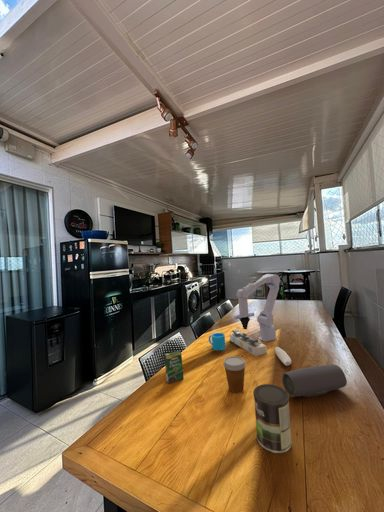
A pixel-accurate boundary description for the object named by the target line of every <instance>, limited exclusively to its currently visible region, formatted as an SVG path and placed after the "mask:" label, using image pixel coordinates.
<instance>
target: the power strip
mask: <svg viewBox="0 0 384 512" xmlns="http://www.w3.org/2000/svg"><path fill="white" fill-rule="evenodd" d="M242 333H243V332H241V334H242ZM249 339H253V338H252V337H250V336H249ZM249 339H247V340H244V339H243V338H242V337H241V336H240V335H238V336H237V335H235V334H234V333H233V332H232V333H229V341H230V340H231V341H230V342H232V343H233V342H234V343H233V344H234V345H237V346H239V347H240V348H242V349H244V350H245V351H246V352H248V353H250V355H253V356H255V357H257V356H262V355H265V354H267V353H268V352H267V345H266V344H263V343H262V342H261V341H259V342H257V343H250V342H248V340H249Z"/></svg>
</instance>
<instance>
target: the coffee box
mask: <svg viewBox="0 0 384 512" xmlns="http://www.w3.org/2000/svg"><path fill="white" fill-rule="evenodd" d="M164 366H165V379H166V382H167V384H168V385H169V384H171V383H175V382H178V381H181V380H184V369H183V357H182V351H181V350H175V351H172V352H169V353H164Z"/></svg>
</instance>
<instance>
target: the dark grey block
mask: <svg viewBox="0 0 384 512" xmlns="http://www.w3.org/2000/svg"><path fill="white" fill-rule="evenodd" d="M232 333H234V334H235V335H237V336H238V335H240V334H241V333H242V332H241V331H240V330H238V329H237V328H235V329H232Z"/></svg>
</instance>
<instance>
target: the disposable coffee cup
mask: <svg viewBox="0 0 384 512" xmlns="http://www.w3.org/2000/svg"><path fill="white" fill-rule="evenodd" d="M222 364H223V367H224V369H225V375H226V376H225V377H226V381H227V386H228V390H229V391H230V392H231V393H235V394H239V393H242V392H244V388H245V385H244V384H245V372H246V371H245V370H246V369H245V367H246V361H245V359H244V358H242V357H240V356H234V355H233V356H228V357H226V358H224V360H223V363H222Z"/></svg>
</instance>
